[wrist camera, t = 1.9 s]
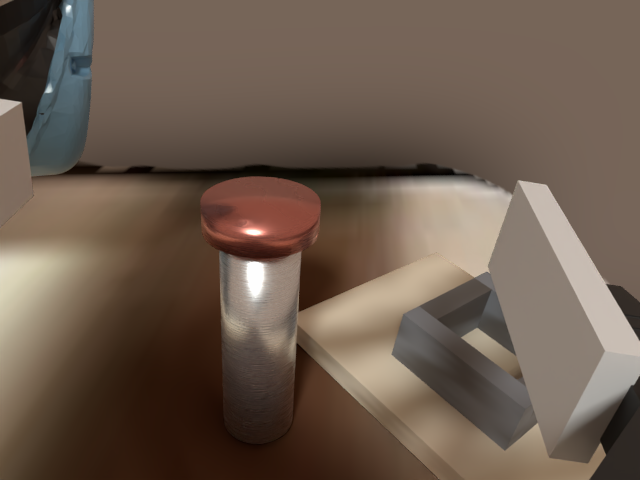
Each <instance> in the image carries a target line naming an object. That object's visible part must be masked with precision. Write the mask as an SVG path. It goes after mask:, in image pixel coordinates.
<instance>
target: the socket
mask: <svg viewBox="0 0 640 480" xmlns="http://www.w3.org/2000/svg"><path fill="white" fill-rule="evenodd" d="M296 343H297V344H299V345H300V346H301V347H302V348H303V349H304V350H305V351H306V352H307V353H308V354H309V355H310V356H311V357H312V358H313V359H314V360H315V361H316V362H317V363H318V364H319V365H320V366H322V367H323V368H324V369H325V370H326V371H327V372H328V373H329V374H330V375H331V376H332V377H333V378H334V379H335V380H336V381H337V382H338V383H339V384H340V385H341V386H342V387H343V388H344V389H346V390H347V391H348V392H349V393H350V394H351V395H352V396H353V397H354V398H355V399H356V400H357V401H358V402H359V403H360V404H361V405H362V406H363V407H364V408H365V409H366V410H367V411H369V412H370V413H371V414H372V415H373V416H374V417H375V418H376V419H377V420H378V421H379V422H380V423H381V424H382V425H383V426H384V427H385V428H386V429H387V430H388V431H389V432H390V433H392V434H393V435H394V436H395V437H396V438H397V439H398V440H399V441H400V442H401V443H402V444H403V445H404V446H405V447H406V448H407V449H408V450H409V451H410V452H411V453H412V454H413V455H414V456H416V457H417V458H418V459H419V460H420V461H421V462H422V463H423V464H424V465H425V466H426V467H427V468H428V469H429V470H430V471H431V472H432V473H433V474H434V475H435V476H436V477H437V478H439V479H440V480H589V479H590V478H591V476H592V475H593V474H594V472H595V471H596V469H597V468H598V466H599V465H600V463H601V462H602V460H603V459H604V458H605V456H606V454H605V451H604V449H603V447H602V444H601V442H600V444H599V446H598V448H597V449H596V451H595V453H594V454H593V456H592V458H591V460H590V461H589V463H588V464H587V463H580V462H573V461H567V460H560V459H553V458H549V456H548V453H547V450H546V447H545V444H544V441H543V437H542V434H541V431H540V428H539V425H538V422H537V419H536V415H535V412H534V409H533V406H532V403H531V400H530V397H529V393H528V390H527V387H526V384H525V381H524V378H523V375H522V371H521V368H520V365H519V362H518V359H517V356H516V353H515V350H514V346H513V343H512V340H511V337H510V334H509V331H508V328H507V324H506V321H505V318H504V315H503V312H502V309H501V306H500V302H499V299H498V296H497V293H496V290H495V287H494V284H493V280H492V277H491V274H490V273H488V272H485V273H483V274H481V275H479V276H477V277H475V278H474V277H473V276H471V275H470V274H468V273H467V272H465V271H464V270H462V269H461V268H459V267H458V266H456V265H455V264H453V263H452V262H450V261H449V260H447V259H446V258H444V257H443V256H441V255H440V254H438V253H437V252H436V253H434V254H432V255H429V256H427V257H425V258H422V259H420V260H418V261H415V262H413V263H411V264H408V265H406V266H404V267H402V268H399V269H397V270H395V271H392V272H390V273H388V274H385V275H383V276H381V277H379V278H376V279H374V280H372V281H369V282H367V283H365V284H362V285H360V286H358V287H356V288H353V289H351V290H349V291H346V292H344V293H342V294H339V295H337V296H335V297H333V298H330V299H328V300H326V301H323V302H321V303H319V304H316V305H314V306H312V307H309V308H307V309H305V310H303V311H300V312H298V322H297V341H296Z"/></svg>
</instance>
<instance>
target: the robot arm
mask: <svg viewBox="0 0 640 480" xmlns="http://www.w3.org/2000/svg"><path fill="white" fill-rule="evenodd" d="M93 1H94V0H0V227H1V226H2V225H3V224H4V223H5V222H7V221H8V220H9V219H10V218H11V217H12V216H13V215H14V214H15V213H16V212H17V211H18V210H19V209H20V208H21V207H22V206H23V205H24V204H26V203H27V202H28V201H29V200H30V199H31V198H32V197H33V196H34V194H33V186H32V178H31V176H43V175H55V174H60V173H63V172H66V171H68V170H69V169H71V168H72V167H73V166H74V165H75V164H76V163H77V162H78V161H79V159H80V158H81V155H82V153H83V150H84V146H85V142H86V137H87V130H88V121H89V112H90V100H91V82H92V77H91V69H90V65H91V63H92V48H93V37H94V2H93ZM488 268H489V271H490V274H491V277H492V280H493V284H494V287H495V290H496V293H497V296H498V299H499V302H500V306H501V309H502V312H503V315H504V318H505V321H506V324H507V328H508V331H509V334H510V337H511V340H512V343H513V346H514V350H515V353H516V356H517V359H518V362H519V365H520V368H521V371H522V375H523V378H524V381H525V384H526V387H527V390H528V393H529V397H530V400H531V403H532V406H533V409H534V412H535V415H536V419H537V422H538V425H539V428H540V431H541V434H542V437H543V441H544V444H545V447H546V450H547V453H548V456H549V458H553V459H560V460H567V461H573V462H580V463H587V464H588V463H589V461H590V460H591V458H592V456H593V454H594V453H595V451H596V449H597V448H598V446H599V444H600V442H601V444H602V447H603V449H604V451H605V454H606V456H605V458H604V459H603V460H602V462H601V463H600V465H599V466H598V468H597V469H596V471H595V472H594V474H593V475H592V476H591V478H590V479H589V480H640V302H639V301H638V300H637V299H635V298H634V297H633V296H632V295H631V294H629V293H628V292H627V291H626V290H624V289H623V288H622V287H621V286H615V285H609V284H605V282H604V280H603V279H602V277H601V275H600V274H599V272H598V271H597V269H596V267H595V265H594V264H593V262H592V260H591V259H590V257H589V255H588V254H587V252H586V250H585V249H584V247H583V245H582V244H581V242H580V240H579V239H578V237H577V236H576V234H575V232H574V230H573V229H572V227H571V225H570V223H569V222H568V220H567V218H566V217H565V215H564V213H563V212H562V210H561V208H560V207H559V205H558V204H557V202H556V200H555V198H554V197H553V195H552V193H551V192H550V190H549V188H548V187H547V185H544V184H537V183H530V182H524V181H518V182H517V185H516V188H515V191H514V193H513V196H512V199H511V202H510V205H509V207H508V210H507V213H506V216H505V219H504V222H503V225H502V227H501V230H500V233H499V236H498V239H497V242H496V244H495V247H494V250H493V253H492V256H491V259H490V262H489V264H488Z"/></svg>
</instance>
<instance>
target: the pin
mask: <svg viewBox="0 0 640 480" xmlns="http://www.w3.org/2000/svg"><path fill="white" fill-rule="evenodd" d="M200 203H201V227H202V235H203V237H204V239H205V240H206V241H207V242H208V243H209V244H210V245H211V246H213V247H214V248H216V249H218V250H219V257H220V296H221V334H222V373H223V412H224V424H225V427H226V429H227V431H228V432H229V433H230V434H231V435H232V436H233V437H235V438H236V439H238V440H240V441H243V442H246V443H252V444H262V443H268V442H271V441H274V440H276V439H278V438H280V437H281V436H283V435H284V434H285V433H286V432H287V431H288V429H289V428H290V426H291V424H292V417H293V398H294V379H295V360H296V341H297V322H298V303H299V284H300V265H301V251H303V250H305V249H307V248H308V247H310V246H311V245H312V244H313V243H314V242H315V241H316V239H317V238H318V235H319V222H320V208H321V202H320V199H319V197H318V195H317V194H316V193H315V192H314V191H312V190H311V189H310V188H308V187H306V186H304V185H302V184H299V183H297V182H293V181H290V180H285V179H280V178H273V177H244V178H237V179H232V180H227V181H224V182H221V183H219V184H216V185H214V186H212V187H211V188H209V189H208V190H207V191H205V192H204V194H203V195H202V197H201V202H200Z"/></svg>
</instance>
